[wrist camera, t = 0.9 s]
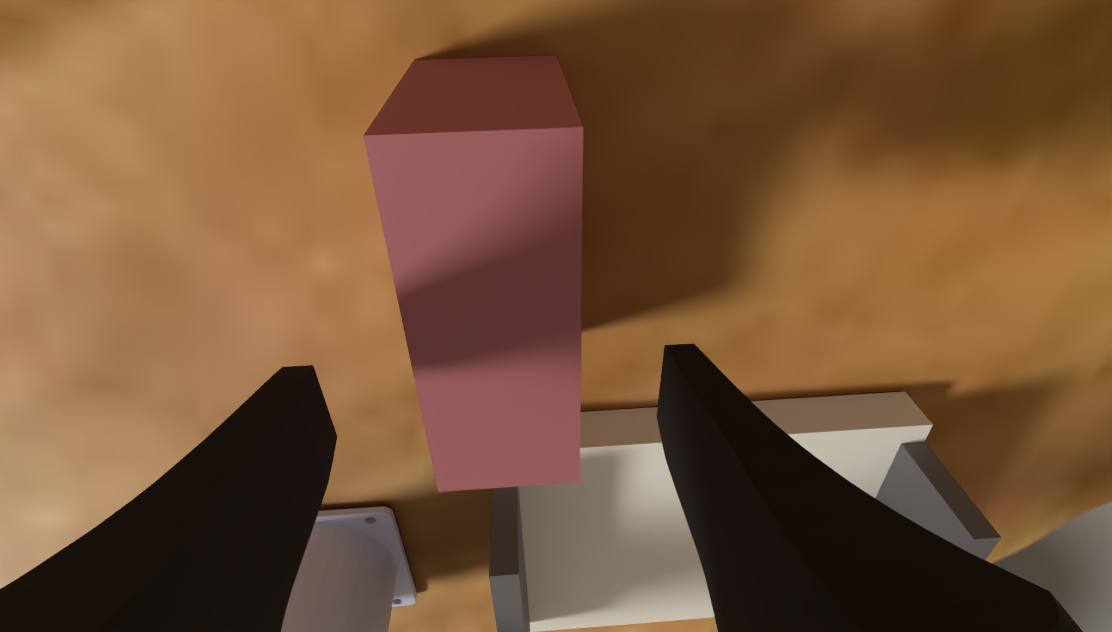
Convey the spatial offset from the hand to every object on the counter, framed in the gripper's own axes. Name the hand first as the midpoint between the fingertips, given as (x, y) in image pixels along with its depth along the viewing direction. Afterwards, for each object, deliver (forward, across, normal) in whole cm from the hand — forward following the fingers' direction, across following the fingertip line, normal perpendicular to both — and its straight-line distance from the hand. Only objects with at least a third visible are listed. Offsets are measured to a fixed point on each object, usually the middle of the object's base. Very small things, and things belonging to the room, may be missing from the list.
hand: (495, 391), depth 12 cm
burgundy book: (+9, 0, 0) cm, 9 cm away
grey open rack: (+8, -8, +16) cm, 20 cm away
